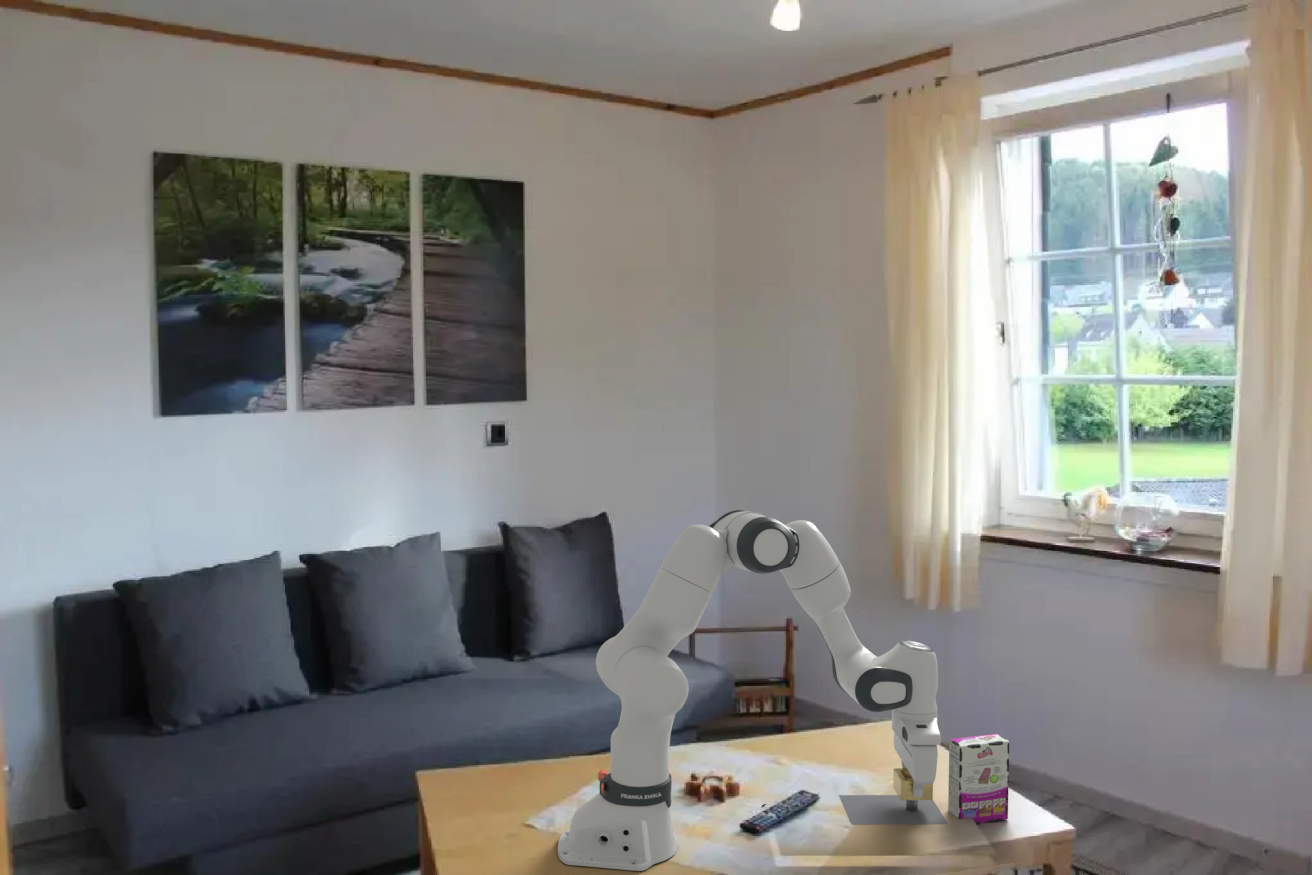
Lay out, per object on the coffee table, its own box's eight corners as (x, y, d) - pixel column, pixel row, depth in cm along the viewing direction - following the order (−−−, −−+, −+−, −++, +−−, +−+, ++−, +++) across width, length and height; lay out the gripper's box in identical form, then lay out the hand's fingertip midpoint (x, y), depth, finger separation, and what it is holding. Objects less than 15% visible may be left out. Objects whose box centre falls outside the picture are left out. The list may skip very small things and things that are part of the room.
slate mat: (851, 831, 225) (851, 824, 225) (838, 801, 239) (838, 795, 239) (948, 831, 225) (948, 823, 225) (929, 801, 239) (929, 794, 239)
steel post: (907, 811, 231) (908, 780, 230) (904, 806, 233) (905, 775, 233) (919, 811, 231) (920, 780, 230) (916, 806, 233) (917, 775, 233)
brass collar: (900, 800, 229) (901, 780, 228) (893, 787, 235) (893, 768, 235) (932, 799, 229) (933, 780, 228) (924, 787, 235) (924, 768, 235)
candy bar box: (994, 810, 235) (997, 732, 234) (1008, 820, 231) (1011, 741, 229) (945, 816, 232) (948, 737, 231) (958, 826, 228) (961, 746, 226)
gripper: (887, 704, 241) (885, 768, 242) (910, 739, 220) (908, 809, 222) (917, 704, 241) (915, 768, 242) (943, 739, 220) (941, 809, 222)
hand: (912, 788), depth 232 cm, fingers closed on brass collar, 6 cm apart
